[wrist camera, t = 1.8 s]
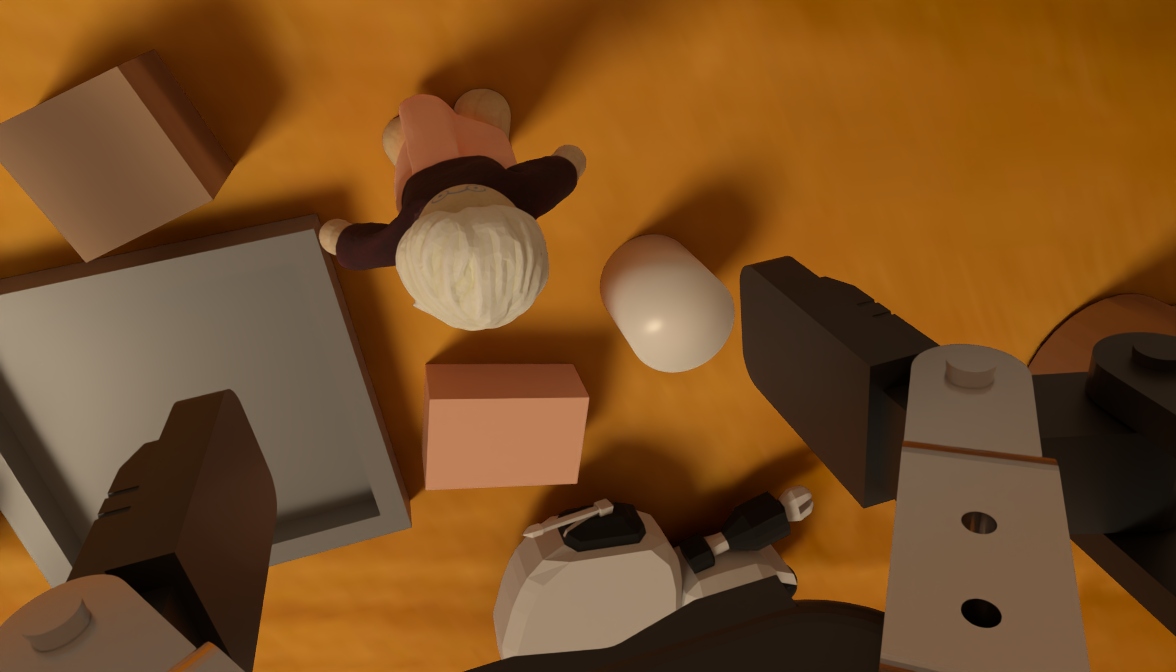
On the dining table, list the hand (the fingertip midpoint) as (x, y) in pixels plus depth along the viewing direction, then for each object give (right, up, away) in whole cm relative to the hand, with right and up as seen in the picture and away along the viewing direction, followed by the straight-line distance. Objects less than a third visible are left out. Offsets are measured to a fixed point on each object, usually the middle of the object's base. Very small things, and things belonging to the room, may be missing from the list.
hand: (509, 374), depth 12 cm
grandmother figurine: (-4, +7, +15) cm, 17 cm away
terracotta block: (-3, -2, +20) cm, 20 cm away
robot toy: (+4, -11, +26) cm, 28 cm away
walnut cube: (-13, +7, +12) cm, 19 cm away
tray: (-13, -2, +17) cm, 22 cm away
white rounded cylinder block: (+4, +3, +19) cm, 19 cm away
